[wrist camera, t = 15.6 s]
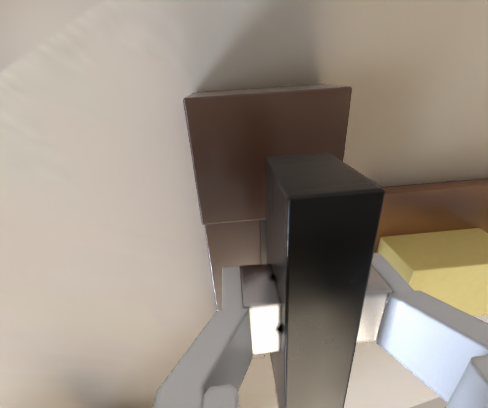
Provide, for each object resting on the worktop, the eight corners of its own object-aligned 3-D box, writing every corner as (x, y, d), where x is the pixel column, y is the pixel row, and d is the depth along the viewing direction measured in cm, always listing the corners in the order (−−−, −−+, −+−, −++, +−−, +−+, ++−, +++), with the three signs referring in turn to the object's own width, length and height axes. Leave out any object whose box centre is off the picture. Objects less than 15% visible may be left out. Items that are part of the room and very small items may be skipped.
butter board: (365, 188, 17) (373, 194, 16) (565, 171, 18) (583, 176, 17) (344, 314, 22) (349, 324, 22) (497, 299, 23) (509, 307, 22)
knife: (252, 135, 10) (286, 198, 4) (299, 131, 10) (388, 189, 5) (263, 391, 17) (282, 530, 12) (291, 388, 17) (321, 525, 12)
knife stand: (192, 92, 14) (182, 97, 10) (321, 84, 14) (353, 86, 11) (224, 327, 22) (224, 373, 19) (305, 319, 22) (319, 362, 19)
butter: (379, 236, 18) (413, 270, 14) (478, 227, 18) (533, 259, 15) (369, 285, 20) (397, 325, 17) (458, 276, 20) (502, 313, 17)
